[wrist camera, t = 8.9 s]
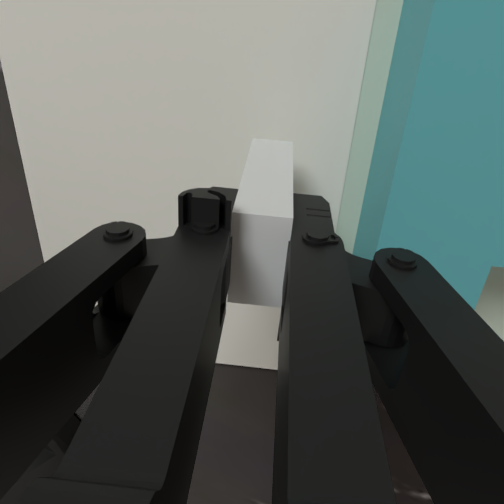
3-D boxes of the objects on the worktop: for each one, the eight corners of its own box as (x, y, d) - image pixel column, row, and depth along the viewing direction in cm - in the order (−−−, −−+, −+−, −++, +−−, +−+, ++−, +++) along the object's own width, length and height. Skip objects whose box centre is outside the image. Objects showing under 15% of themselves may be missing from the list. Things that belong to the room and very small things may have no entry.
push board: (608, 400, 24) (614, 408, 23) (66, 339, 25) (62, 345, 25) (1047, -237, 11) (1077, -246, 11) (-63, -277, 13) (-75, -286, 12)
